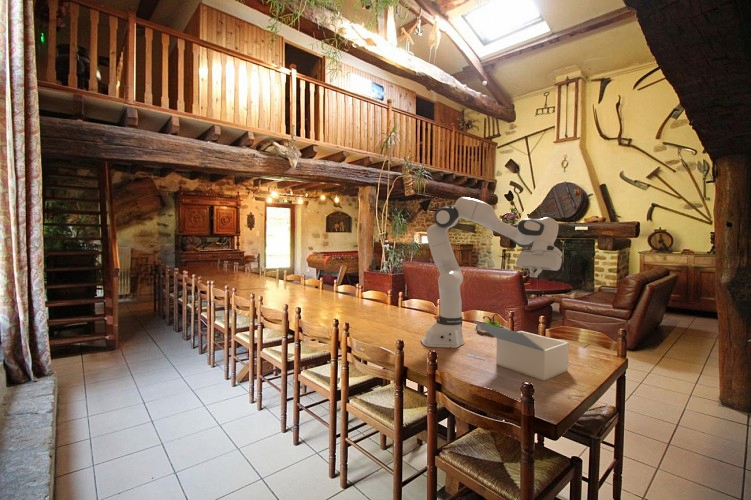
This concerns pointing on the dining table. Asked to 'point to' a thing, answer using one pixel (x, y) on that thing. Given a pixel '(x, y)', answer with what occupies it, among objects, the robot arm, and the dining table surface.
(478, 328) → the succulent planter
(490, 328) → the carton flap
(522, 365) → the shipping carton
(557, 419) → the dining table surface
